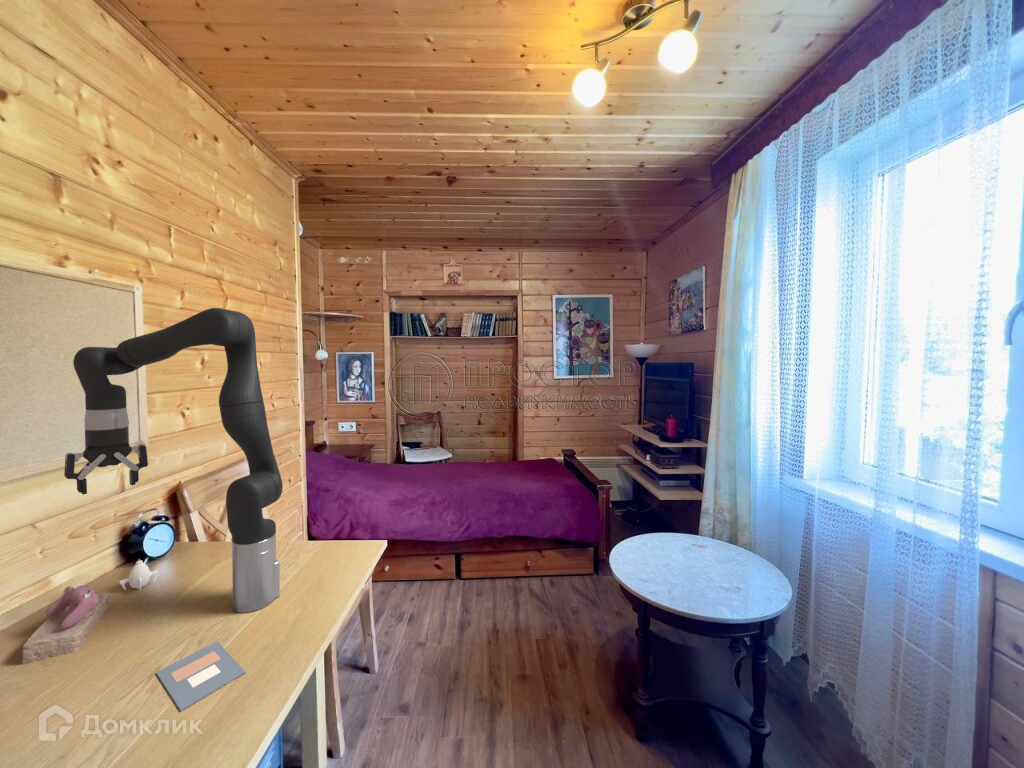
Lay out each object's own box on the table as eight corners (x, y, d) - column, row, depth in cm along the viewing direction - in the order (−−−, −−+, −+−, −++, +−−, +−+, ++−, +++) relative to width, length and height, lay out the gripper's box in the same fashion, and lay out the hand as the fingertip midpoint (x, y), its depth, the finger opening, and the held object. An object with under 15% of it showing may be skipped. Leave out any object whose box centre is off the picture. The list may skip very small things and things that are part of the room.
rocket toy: (139, 581, 103) (139, 553, 103) (159, 581, 103) (159, 553, 103) (119, 593, 98) (118, 563, 97) (140, 593, 98) (139, 564, 97)
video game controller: (88, 627, 82) (107, 592, 84) (59, 630, 78) (80, 593, 80) (69, 614, 86) (88, 580, 88) (41, 616, 82) (61, 581, 84)
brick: (80, 653, 79) (79, 631, 78) (18, 668, 74) (18, 646, 74) (111, 608, 93) (111, 590, 93) (61, 619, 88) (61, 600, 88)
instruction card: (217, 642, 82) (217, 641, 82) (245, 673, 74) (245, 671, 74) (156, 673, 73) (156, 671, 73) (180, 711, 66) (180, 709, 66)
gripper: (141, 421, 102) (143, 479, 103) (60, 428, 90) (63, 493, 91) (149, 424, 98) (151, 484, 99) (66, 431, 86) (68, 500, 87)
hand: (109, 488), depth 95 cm, fingers open, 8 cm apart
